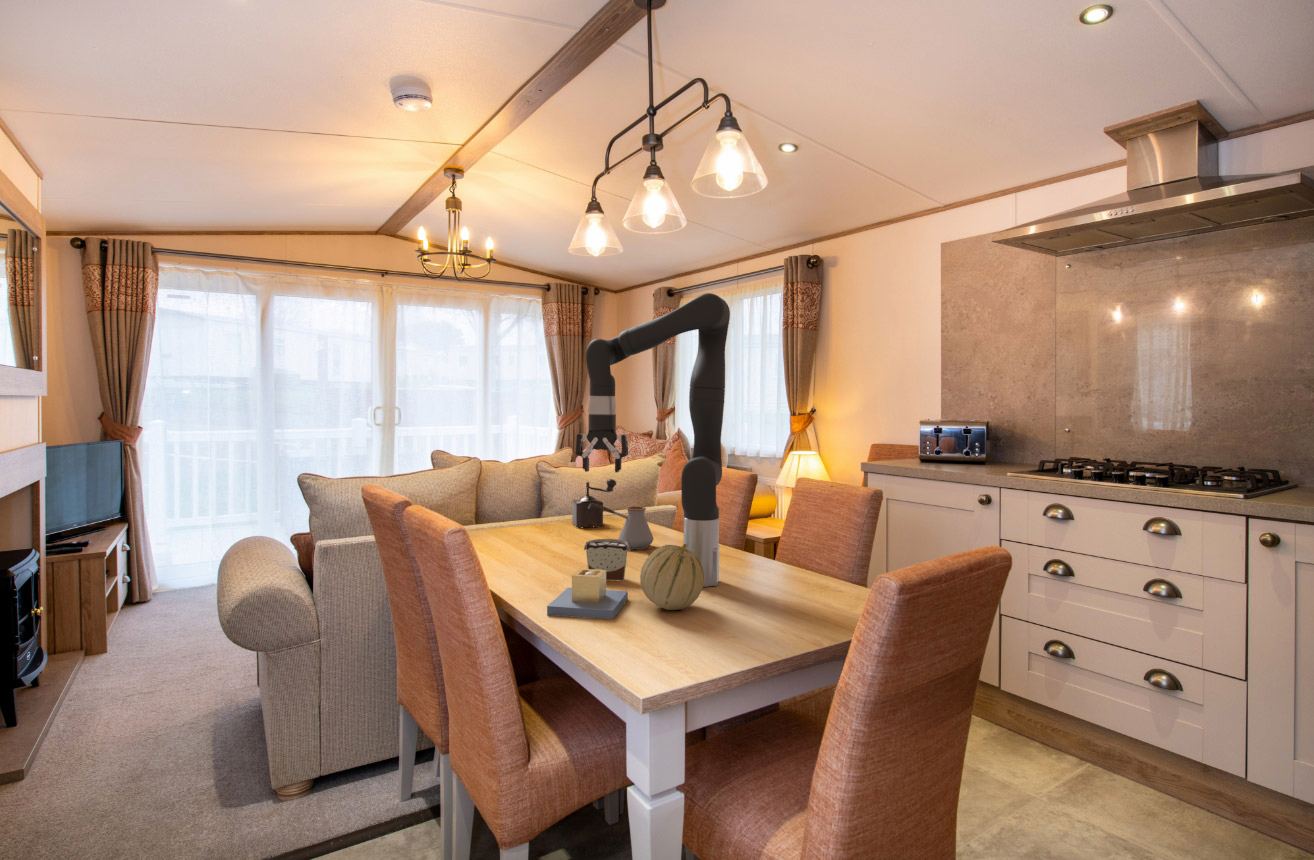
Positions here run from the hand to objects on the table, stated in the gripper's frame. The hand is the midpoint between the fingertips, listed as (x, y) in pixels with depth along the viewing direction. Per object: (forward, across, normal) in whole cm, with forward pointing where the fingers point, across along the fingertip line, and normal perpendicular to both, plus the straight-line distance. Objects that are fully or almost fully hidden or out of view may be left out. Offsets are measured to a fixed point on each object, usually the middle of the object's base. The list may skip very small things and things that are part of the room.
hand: (601, 471), depth 183 cm
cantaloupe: (+28, -24, +27) cm, 46 cm away
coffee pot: (+28, +2, -32) cm, 43 cm away
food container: (+28, -3, +4) cm, 29 cm away
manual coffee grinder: (+28, +20, -68) cm, 77 cm away
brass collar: (+26, -5, +30) cm, 40 cm away
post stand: (+28, -5, +30) cm, 41 cm away
